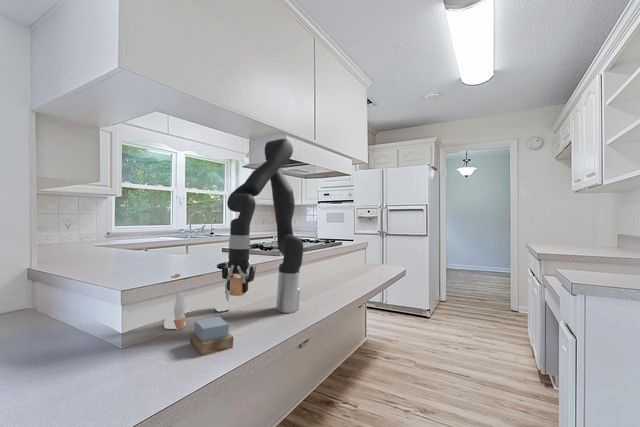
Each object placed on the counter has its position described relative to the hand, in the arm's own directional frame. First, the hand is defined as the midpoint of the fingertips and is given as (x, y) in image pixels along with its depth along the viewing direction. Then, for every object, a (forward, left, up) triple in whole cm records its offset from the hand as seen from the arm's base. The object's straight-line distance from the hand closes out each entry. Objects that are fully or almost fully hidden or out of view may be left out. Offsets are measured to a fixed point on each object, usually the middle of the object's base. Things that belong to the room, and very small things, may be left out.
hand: (237, 291), depth 119 cm
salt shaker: (+18, -11, -13) cm, 25 cm away
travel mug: (-4, -19, -13) cm, 24 cm away
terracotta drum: (0, 0, -1) cm, 1 cm away
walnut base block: (+14, +11, -14) cm, 22 cm away
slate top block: (+14, +10, -10) cm, 20 cm away
